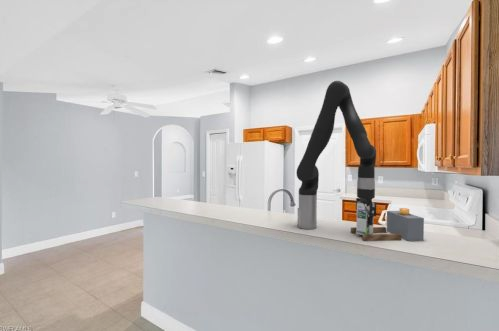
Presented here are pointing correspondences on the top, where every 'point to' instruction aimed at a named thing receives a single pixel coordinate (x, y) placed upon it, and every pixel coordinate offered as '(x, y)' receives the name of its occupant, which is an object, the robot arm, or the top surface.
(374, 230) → the guide rails
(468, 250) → the top surface
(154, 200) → the top surface
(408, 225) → the end cabinet
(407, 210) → the gauge button
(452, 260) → the top surface
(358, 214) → the syrup box
